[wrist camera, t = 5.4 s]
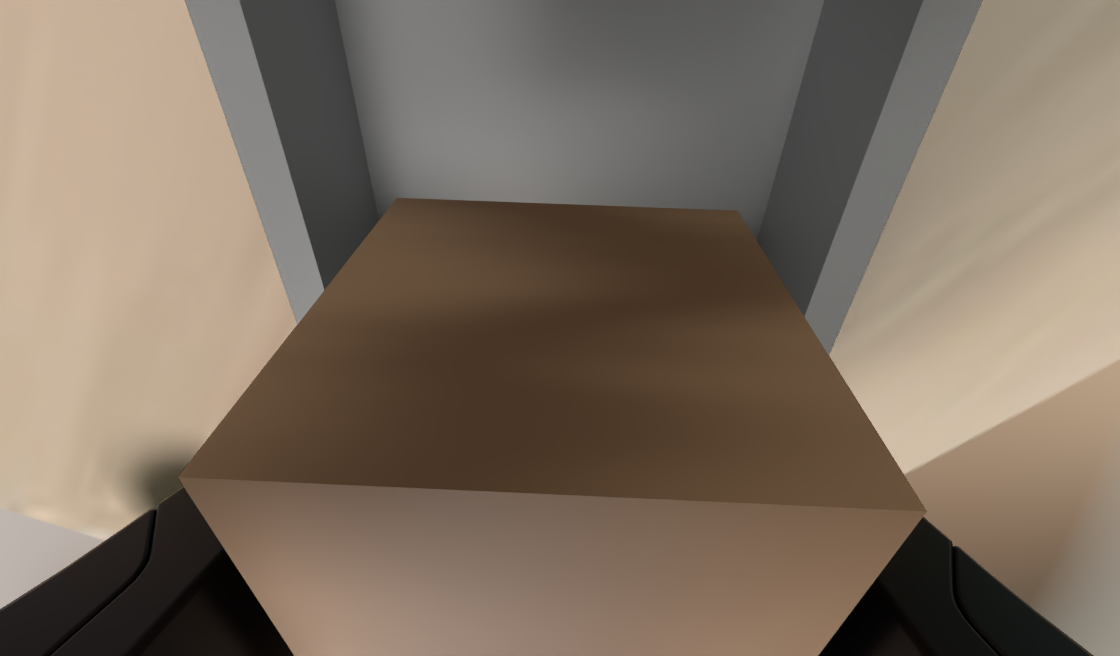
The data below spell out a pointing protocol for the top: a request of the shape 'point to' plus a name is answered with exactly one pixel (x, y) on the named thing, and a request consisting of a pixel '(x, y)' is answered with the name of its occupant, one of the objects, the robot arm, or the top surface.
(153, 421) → the top surface
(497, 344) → the tan wooden cube
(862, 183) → the grey rectangular tray
